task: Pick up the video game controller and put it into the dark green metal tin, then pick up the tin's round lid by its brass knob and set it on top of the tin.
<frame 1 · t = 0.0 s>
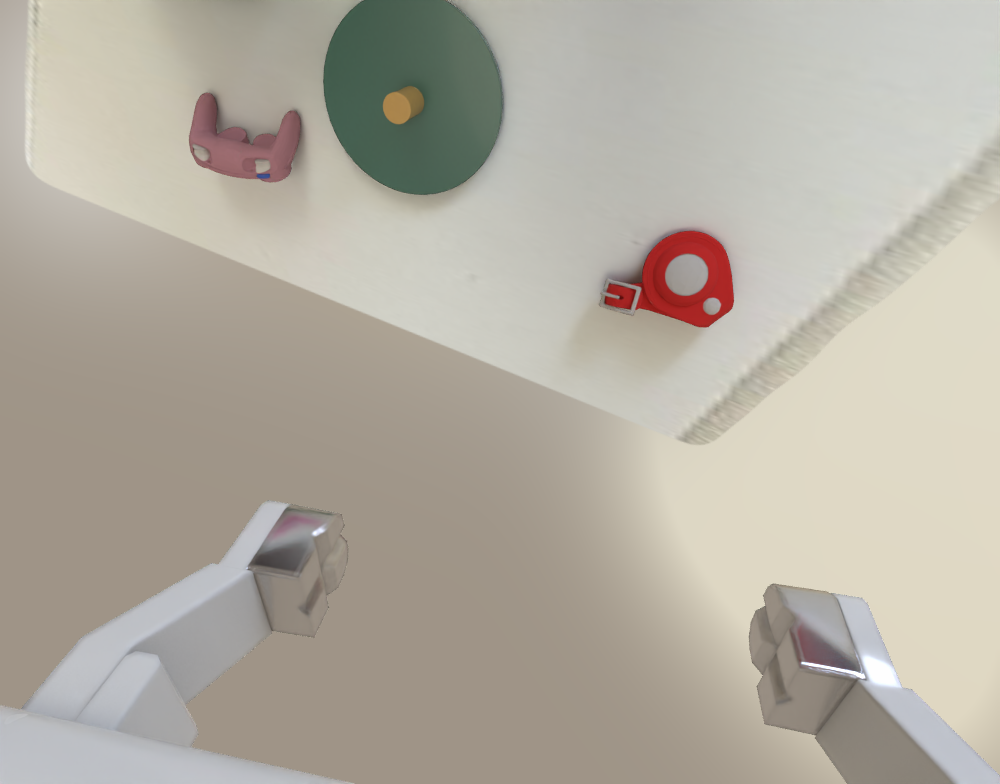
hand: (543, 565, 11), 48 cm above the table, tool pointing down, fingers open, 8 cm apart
tin lid: (413, 100, 51), point 1 cm above the table
video game controller: (258, 132, 56), on the table
tracker holder: (666, 274, 57), on the table
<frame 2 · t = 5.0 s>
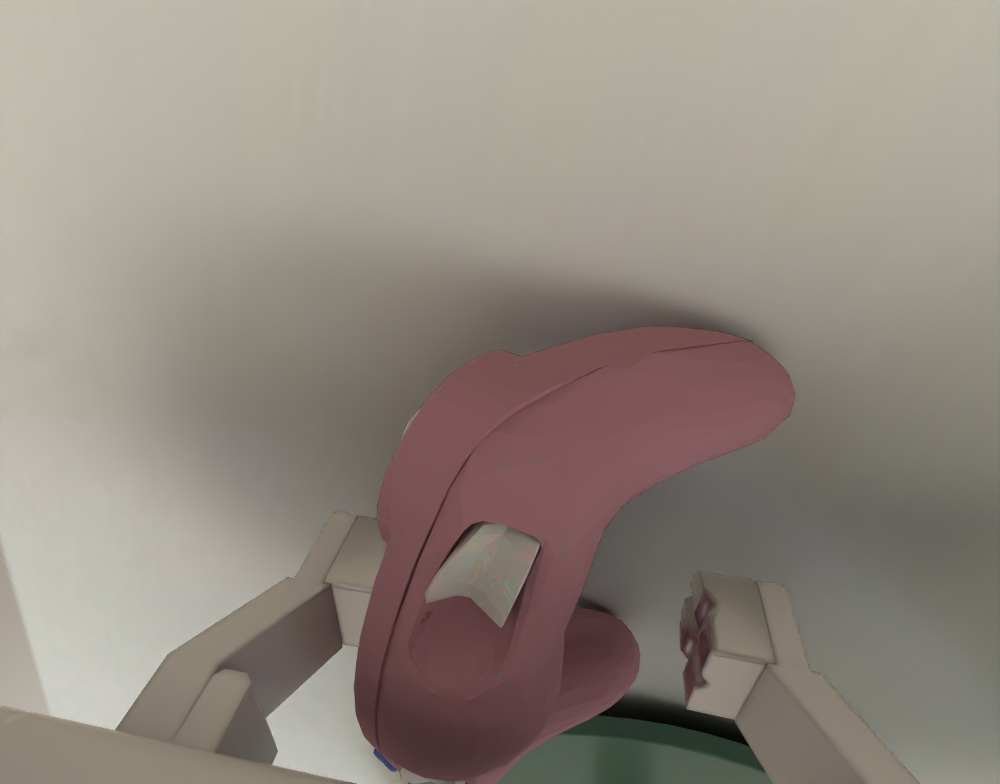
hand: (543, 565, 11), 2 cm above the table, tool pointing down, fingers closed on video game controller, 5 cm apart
video game controller: (563, 480, 13), on the table, touching gripper
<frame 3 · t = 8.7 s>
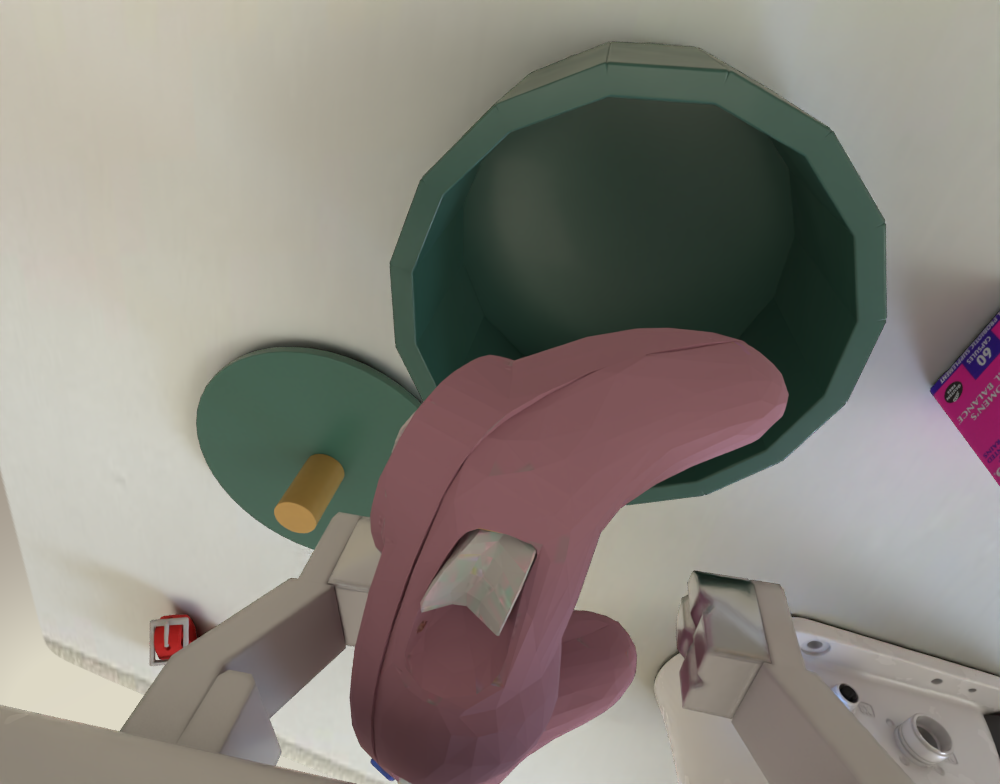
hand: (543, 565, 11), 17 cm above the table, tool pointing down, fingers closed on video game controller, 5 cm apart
tin lid: (329, 462, 35), point 1 cm above the table
tin: (618, 246, 25), on the table
video game controller: (558, 483, 13), point 15 cm above the table, touching gripper
tracker holder: (220, 641, 52), on the table
when the fingers open (2 cm above the table, at t = 12.6 s): video game controller stays where it is, resting on tin.
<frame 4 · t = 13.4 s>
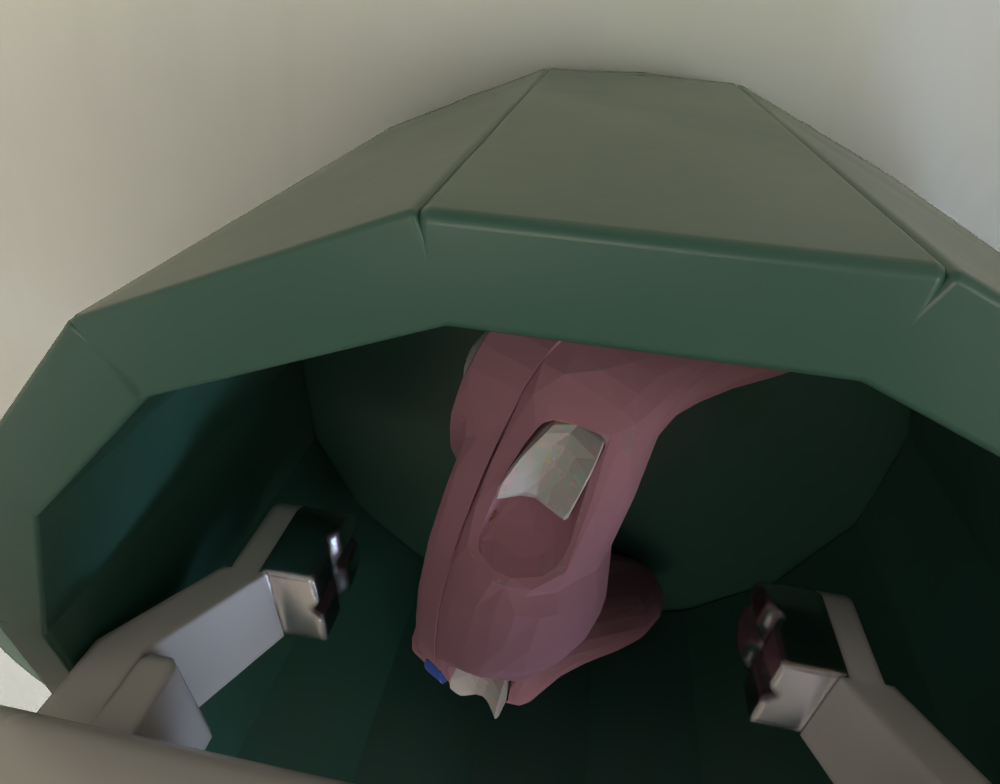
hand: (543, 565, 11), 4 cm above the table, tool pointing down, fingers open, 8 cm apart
tin lid: (172, 659, 24), point 1 cm above the table
tin: (579, 424, 14), on the table
video game controller: (597, 426, 14), resting on tin
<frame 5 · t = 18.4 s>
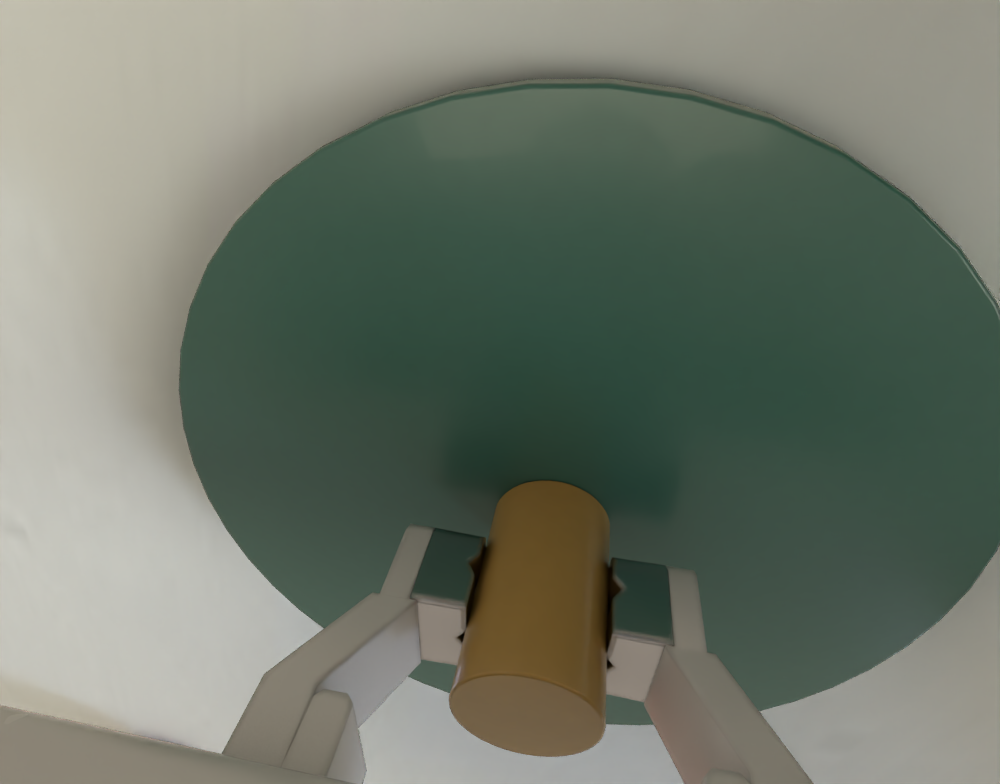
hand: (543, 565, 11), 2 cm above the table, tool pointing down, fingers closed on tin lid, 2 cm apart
tin lid: (554, 501, 12), point 1 cm above the table, touching gripper
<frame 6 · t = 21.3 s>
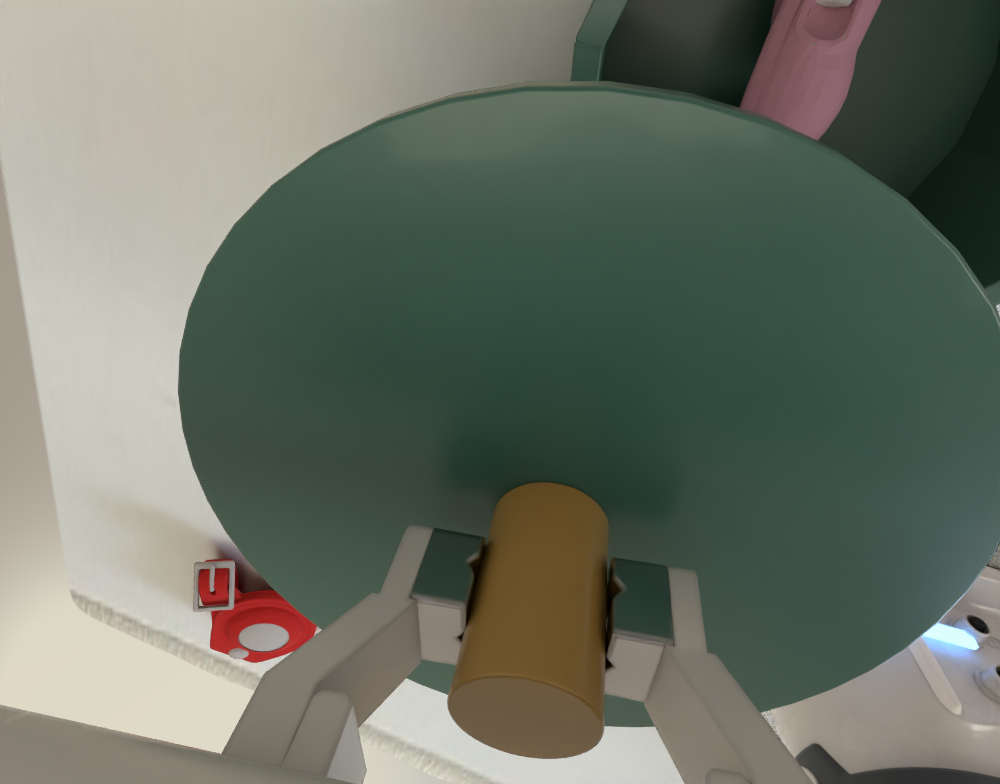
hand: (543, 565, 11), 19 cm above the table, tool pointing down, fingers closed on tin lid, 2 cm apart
tin lid: (553, 503, 12), point 17 cm above the table, touching gripper
tin: (780, 87, 22), on the table
video game controller: (794, 82, 22), resting on tin
tracker holder: (264, 591, 48), on the table
when the fingers open (9 cm above the table, at t = 24.6 s): tin lid stays where it is, resting on tin.
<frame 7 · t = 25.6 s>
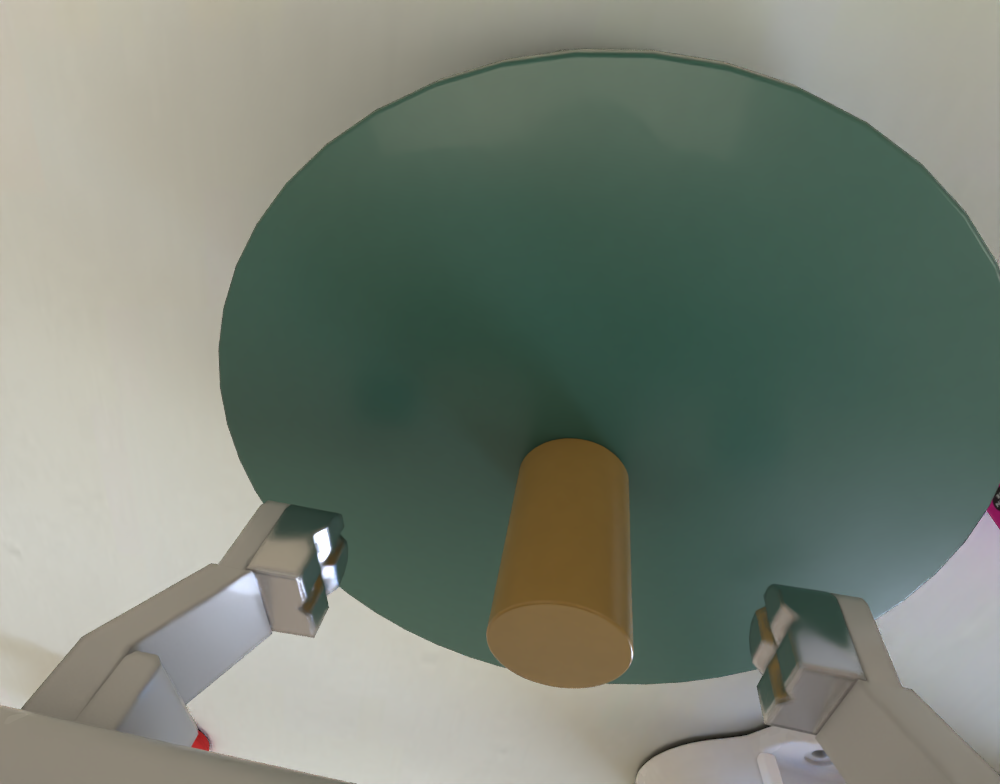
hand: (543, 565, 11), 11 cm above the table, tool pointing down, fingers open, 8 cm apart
tin lid: (574, 462, 13), point 8 cm above the table, touching tin
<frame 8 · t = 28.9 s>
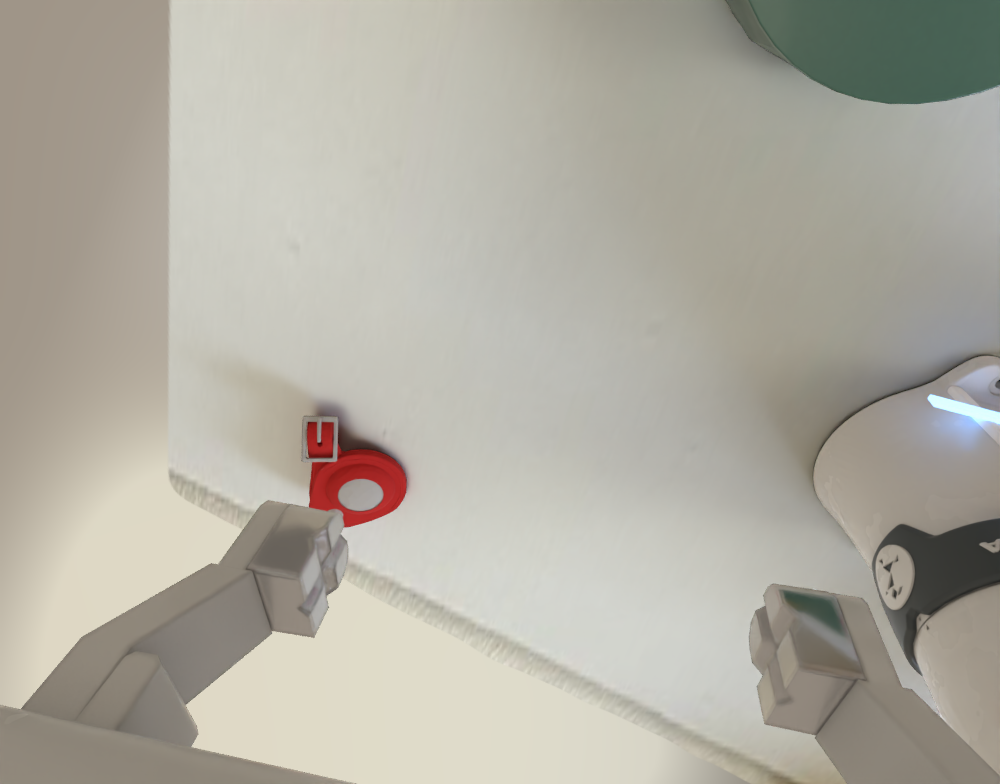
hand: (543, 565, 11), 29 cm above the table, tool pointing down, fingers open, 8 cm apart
tracker holder: (357, 457, 52), on the table
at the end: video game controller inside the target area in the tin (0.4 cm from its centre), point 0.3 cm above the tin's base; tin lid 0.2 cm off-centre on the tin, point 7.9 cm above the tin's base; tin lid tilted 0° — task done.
